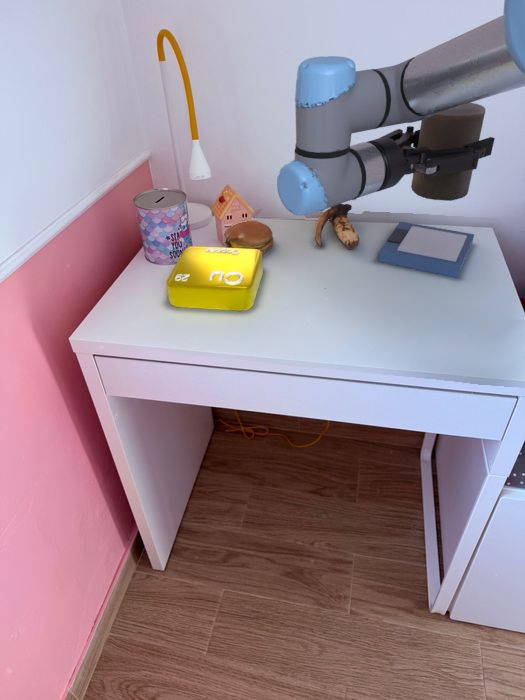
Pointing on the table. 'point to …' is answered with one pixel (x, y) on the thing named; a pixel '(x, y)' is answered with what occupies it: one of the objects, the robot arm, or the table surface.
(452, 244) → the scale
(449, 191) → the pillar candle
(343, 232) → the brown forked curved piece
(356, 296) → the table surface
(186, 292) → the element tile
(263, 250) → the burger
